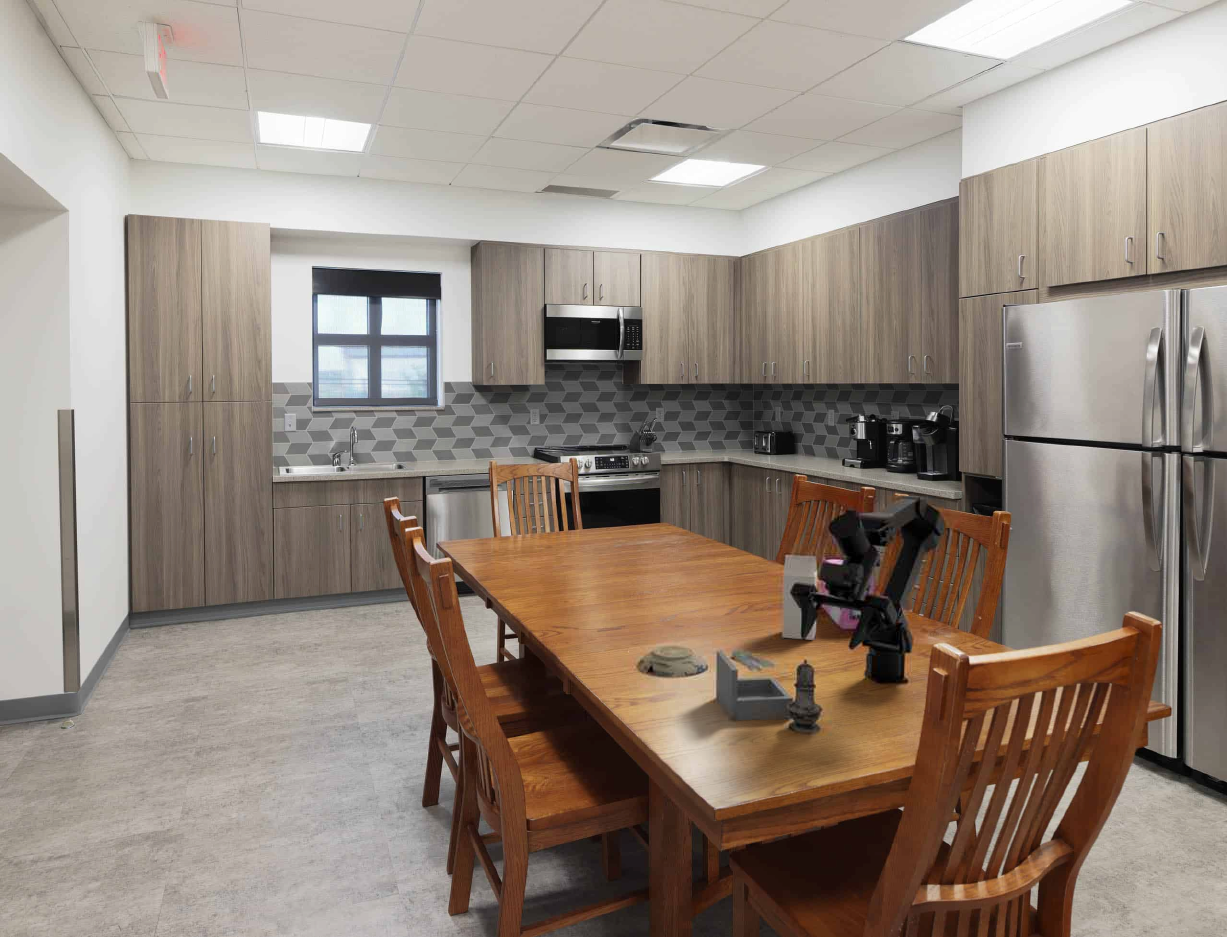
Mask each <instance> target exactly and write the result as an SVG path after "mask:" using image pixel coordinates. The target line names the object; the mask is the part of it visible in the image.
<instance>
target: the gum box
mask: <svg viewBox="0 0 1227 937" xmlns="http://www.w3.org/2000/svg"><path fill="white" fill-rule="evenodd" d="M844 557H845V556H842V557H841V556H839V557H838V556H837V557H836V556H835V557H834V556H832V557H831V556H823V557H822V559H821V563H822V562H826V563H833V564H840V565H841V564H842V562H843V560H844ZM874 576H875V575H874V574H872V576H871V579H870V581H869V584H870V586H871V588H870V590H869V591H865V593H864V596H863V598H862V600H863V601H866V597H867V595H869V594H874V582H875V581H874V580H875V579H874ZM821 593H823V594H829V590H826V588H825V582H824V581H822V580H821ZM821 608H823V610H824V609H825V610H826V611H825V610H824V611H825V612H826V613H827V614H828V616H829V617H830V618H831V619H832V620H833V621H834V622H835V623H836V624H837V626H839V628H840V629H841V630H855V628H856V626H857V624H858V622H859V619H860V614H861V611H855V610H850V609H845V608H840V607H835V606H829V605H824V604H822V606H821Z"/></svg>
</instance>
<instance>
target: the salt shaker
mask: <svg viewBox="0 0 1227 937" xmlns="http://www.w3.org/2000/svg"><path fill="white" fill-rule="evenodd" d="M814 678H815V669H814V666H812V665H811V664H809V663H808V660H807V659H806V658H805V659H804V660H803V663H801V664H799V665H798V666H797V667H796V682H795V683H794V685H793V686H794V688H795V698H794V700H793V702H791V703H789V704H788V705H787V708H788V709H789V714H790V716H791V718H790V719H792V720H793V721H791V722H790V723H789V724H788V725H787V726H788V729H789V730H790V731H792V732H794V733H798V734H802V735H812V734H816V733H819V732H820V731H821V728H820V726H819V725H818V724H817V723H816V722H818V720H819V719H820V716H821V713H822V712H823V707H822V706H821V705H820V704H818V703H816V702H815V689H816V688H817V686H816V684H814V683H815V682H814V681H815V679H814Z"/></svg>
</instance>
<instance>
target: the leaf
mask: <svg viewBox="0 0 1227 937" xmlns="http://www.w3.org/2000/svg"><path fill="white" fill-rule="evenodd" d="M732 657H733V658H734V661H735V662H737V663H740V664H741V665H742V666H744V667H746V668H747V669H748V670H749V671H750V672H753V671H754V670H755V671H758V672H759V673H761V674H762V673H763V670H762V668H761V666H762V667H763V668H774V666H776V664H775V663H773V662H771V660H770V661H769V660H768V659H767V660H766V659H765V658H758V657H757V658H756V657H755V656H754V655H753V654H752V653H750V652H747V651H744V650H740V651H739V650H736V651H732Z"/></svg>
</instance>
